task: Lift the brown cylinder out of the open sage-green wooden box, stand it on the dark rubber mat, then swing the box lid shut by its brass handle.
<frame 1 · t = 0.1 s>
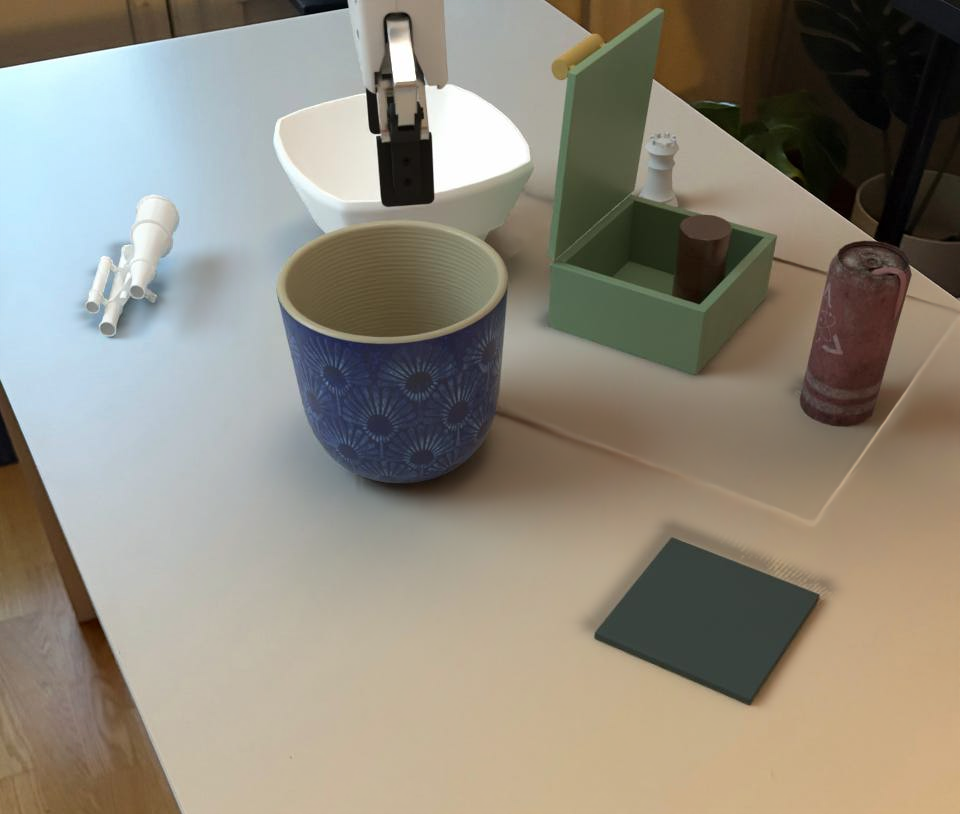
hand: (400, 165, 76), 26 cm above the table, tool pointing down, fingers open, 9 cm apart
can: (835, 415, 103), on the table
brown cylinder: (693, 322, 110), point 1 cm above the table, touching box
lid: (585, 129, 104), point 15 cm above the table, hinge at 85.0°
mat: (707, 619, 87), on the table
box: (657, 320, 112), on the table
bowl: (408, 260, 120), on the table
rook chess piece: (655, 219, 125), on the table
toy cannon: (140, 298, 116), on the table
planter: (405, 449, 101), on the table
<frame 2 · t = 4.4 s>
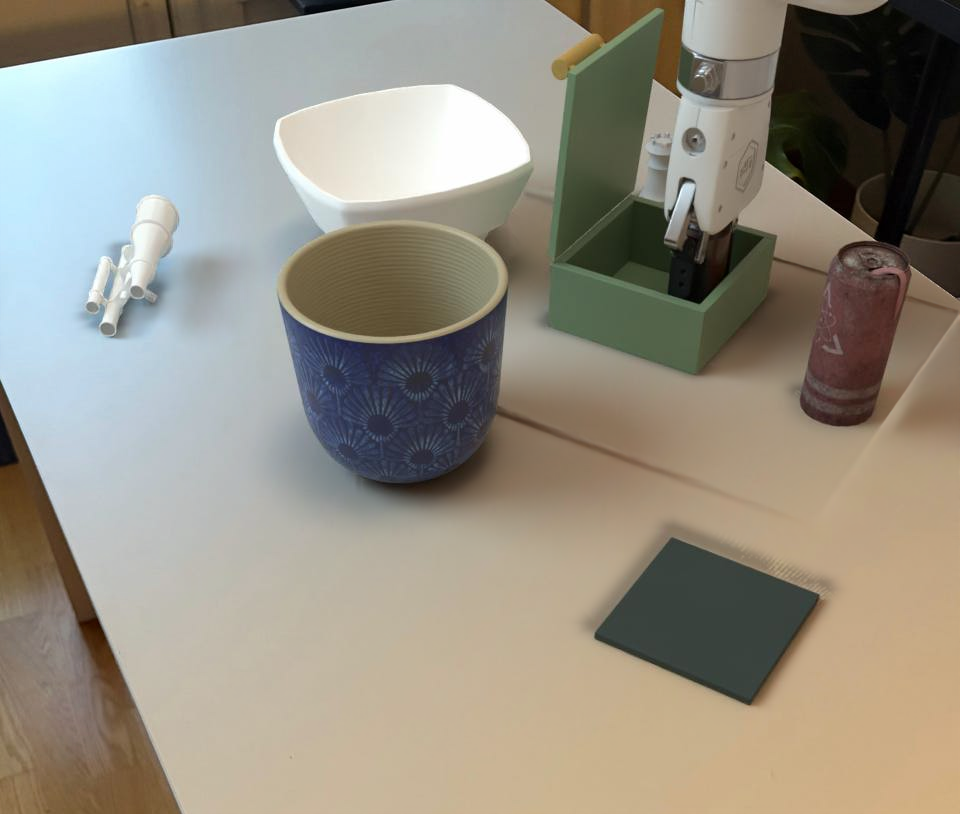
hand: (698, 283, 108), 5 cm above the table, tool pointing down, fingers closed on brown cylinder, 4 cm apart
brown cylinder: (693, 322, 110), point 1 cm above the table, touching box, gripper
everything else where it was.
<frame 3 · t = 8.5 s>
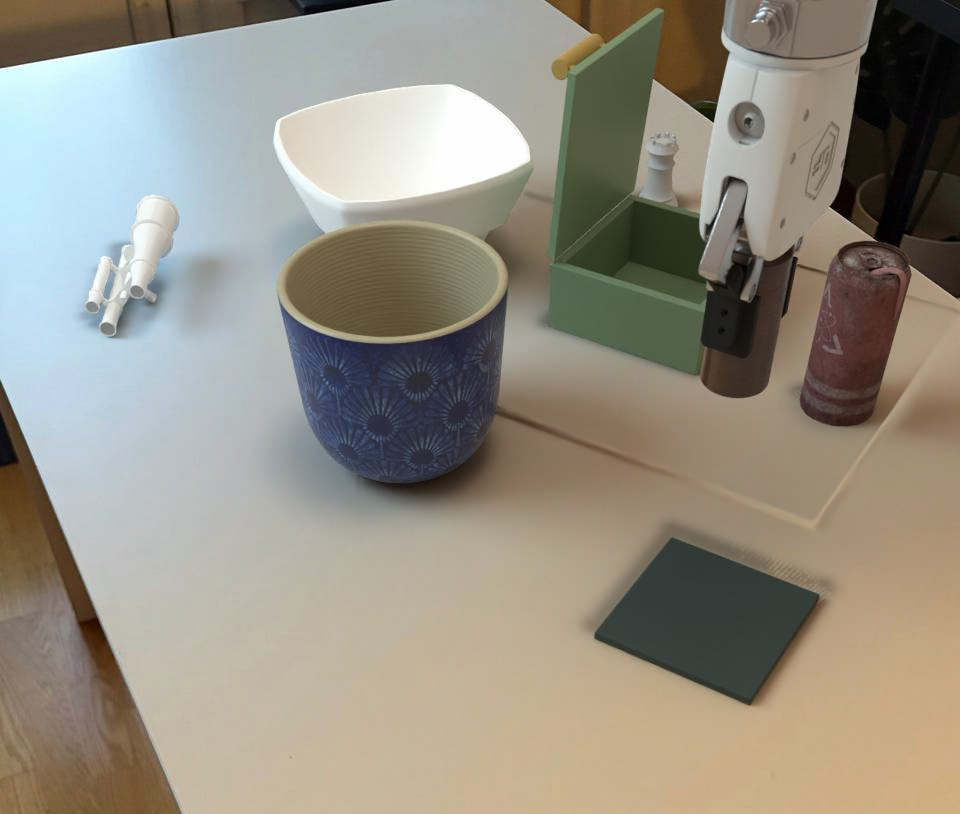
hand: (744, 327, 76), 20 cm above the table, tool pointing down, fingers closed on brown cylinder, 4 cm apart
brown cylinder: (734, 378, 79), point 16 cm above the table, touching gripper
everything else where it was.
when the fingers open (4 cm above the table, at t = 12.7 s): brown cylinder stays where it is, resting on mat.
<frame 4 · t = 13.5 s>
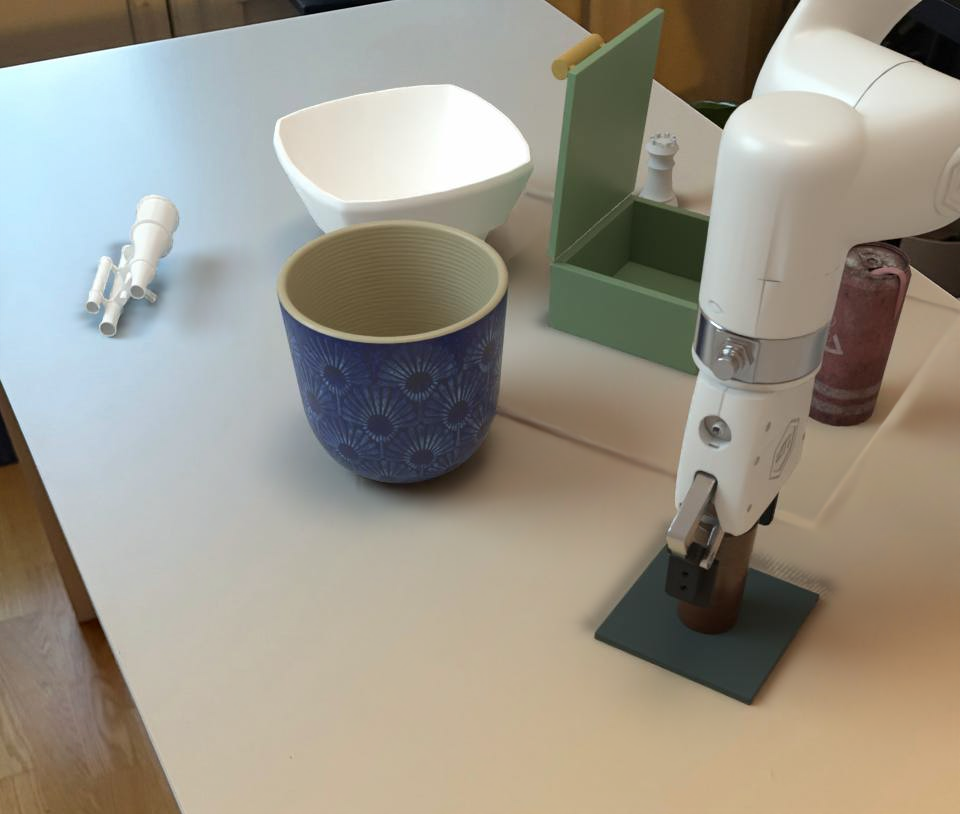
hand: (719, 557, 83), 6 cm above the table, tool pointing down, fingers open, 9 cm apart
brown cylinder: (707, 612, 87), point 1 cm above the table, touching mat
everything else where it was.
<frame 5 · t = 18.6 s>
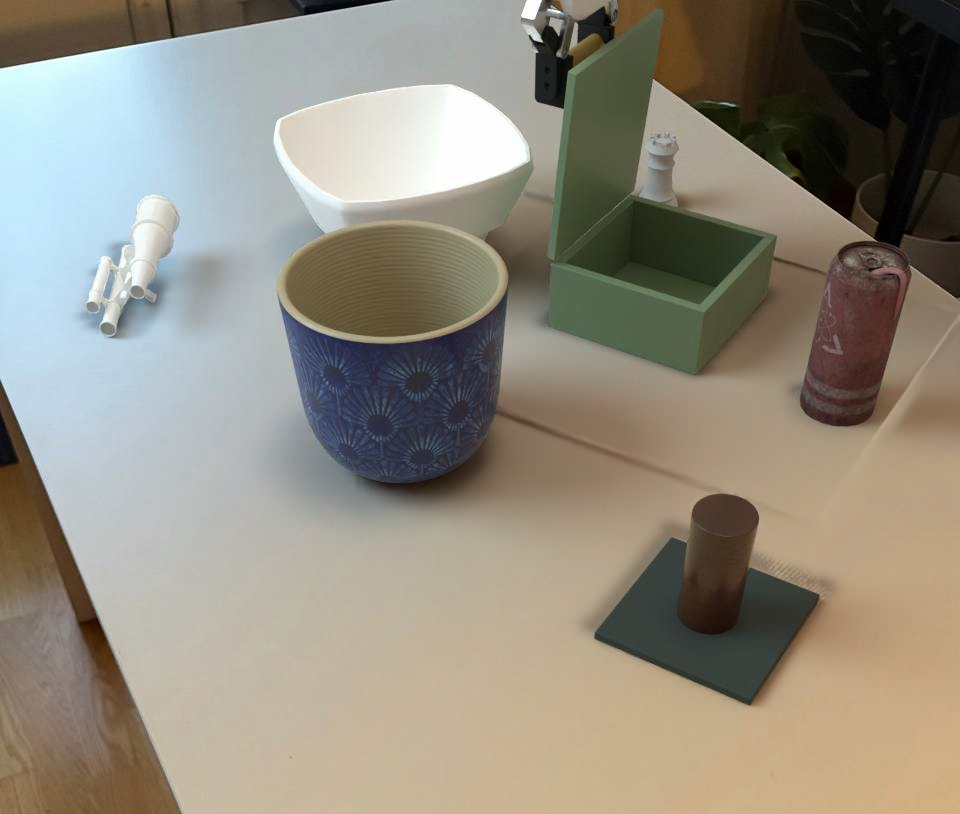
hand: (573, 87, 102), 18 cm above the table, tool pointing down, fingers closed on lid, 6 cm apart
lid: (585, 129, 104), point 15 cm above the table, hinge at 85.0°, touching gripper
everything else where it was.
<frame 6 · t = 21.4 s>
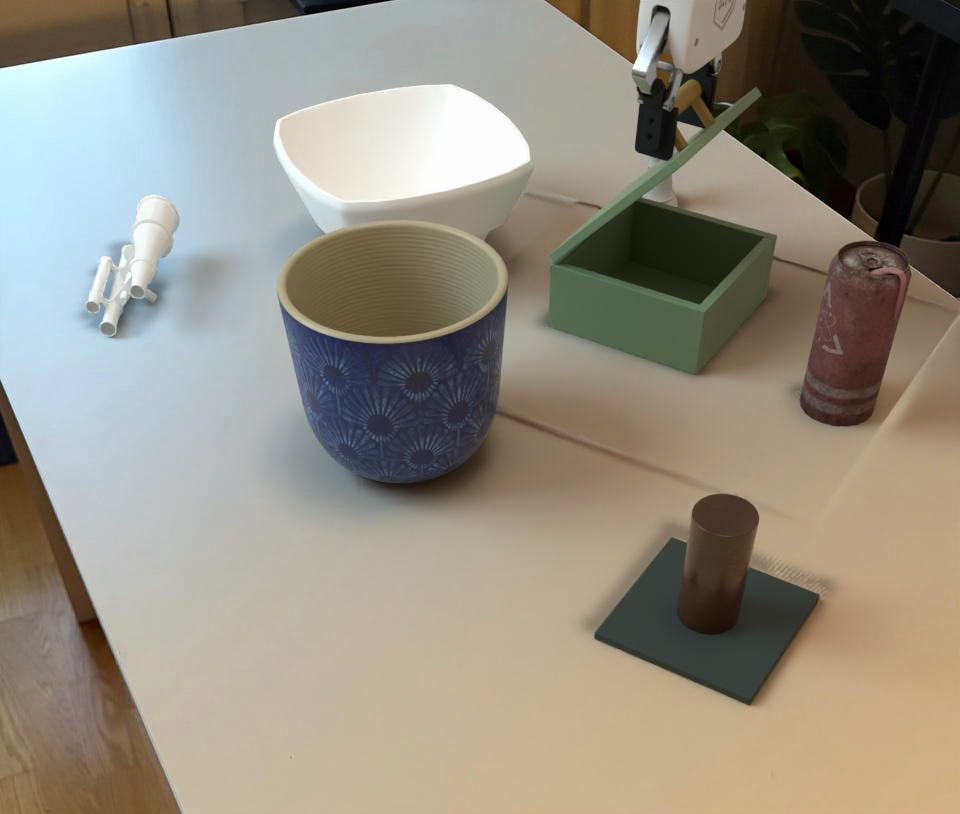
hand: (673, 137, 100), 17 cm above the table, tool pointing down, fingers closed on lid, 6 cm apart
lid: (640, 157, 103), point 14 cm above the table, hinge at 45.1°, touching gripper
everything else where it was.
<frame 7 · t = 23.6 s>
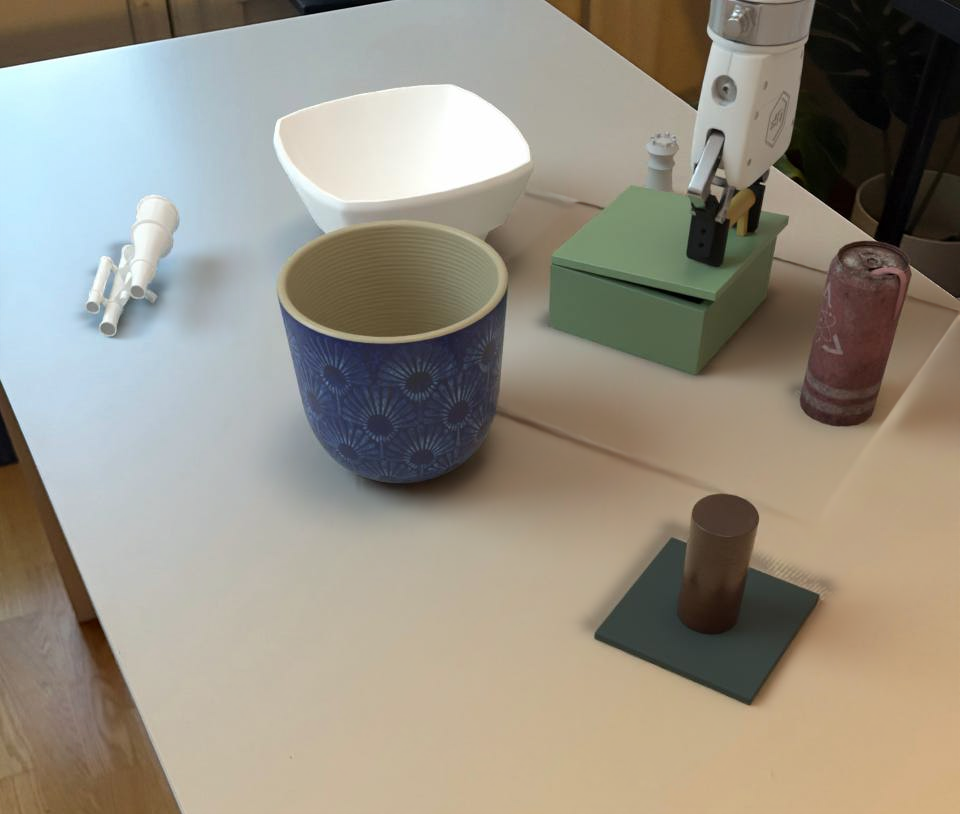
hand: (722, 242, 104), 9 cm above the table, tool pointing down, fingers closed on lid, 6 cm apart
lid: (671, 218, 105), point 10 cm above the table, hinge at 4.2°, touching gripper
everything else where it was.
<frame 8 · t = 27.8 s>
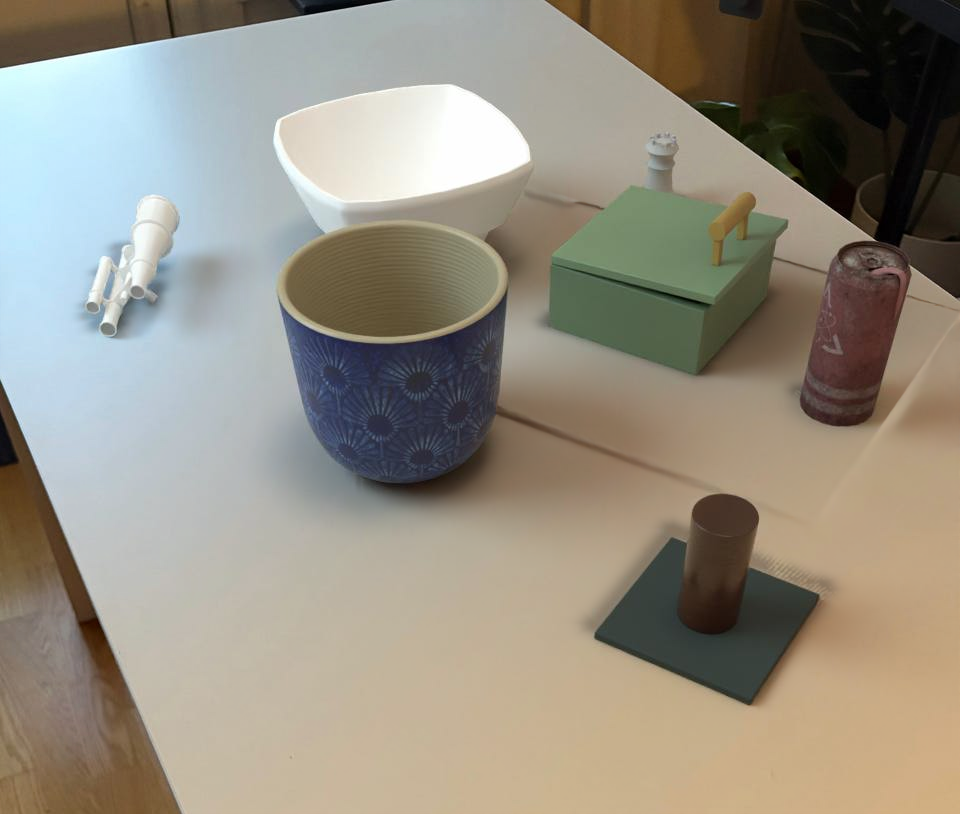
lid: (671, 220, 105), point 10 cm above the table, hinge at 3.0°
everything else where it was.
at the end: brown cylinder inside the target area on the mat (0.1 cm from its centre), point 0.6 cm above the mat's base; brown cylinder tilted 0°; lid at +3° (first picture: +85°) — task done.
